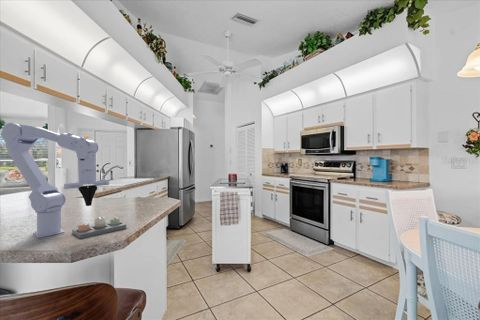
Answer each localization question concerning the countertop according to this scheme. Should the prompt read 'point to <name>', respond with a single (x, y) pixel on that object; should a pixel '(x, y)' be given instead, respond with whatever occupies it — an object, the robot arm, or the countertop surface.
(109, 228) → the button board
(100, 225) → the cream button
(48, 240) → the countertop surface
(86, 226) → the terracotta button
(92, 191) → the robot arm
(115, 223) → the sage button
